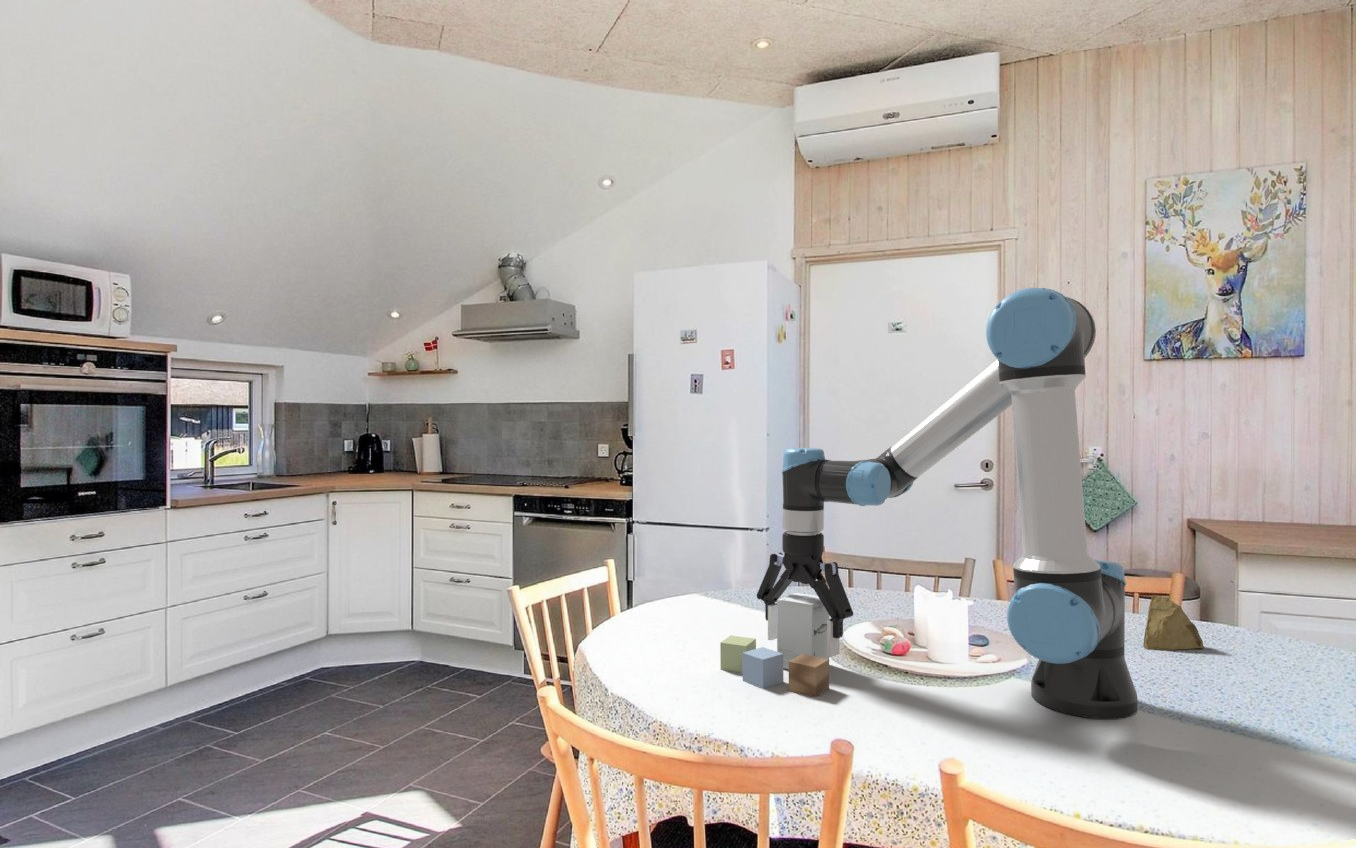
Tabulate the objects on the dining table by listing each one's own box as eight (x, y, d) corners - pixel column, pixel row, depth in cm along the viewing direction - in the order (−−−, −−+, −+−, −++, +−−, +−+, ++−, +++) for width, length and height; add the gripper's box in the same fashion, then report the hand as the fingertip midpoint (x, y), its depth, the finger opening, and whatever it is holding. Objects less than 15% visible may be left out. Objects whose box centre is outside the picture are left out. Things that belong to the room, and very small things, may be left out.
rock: (1206, 632, 154) (1149, 618, 160) (1211, 604, 149) (1151, 591, 155) (1199, 675, 148) (1139, 659, 154) (1203, 648, 143) (1142, 632, 149)
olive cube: (756, 665, 143) (755, 638, 143) (746, 673, 138) (745, 646, 138) (731, 662, 145) (730, 635, 145) (720, 669, 140) (720, 642, 140)
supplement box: (812, 675, 137) (812, 604, 137) (775, 667, 141) (775, 599, 141) (830, 664, 143) (830, 596, 142) (795, 657, 147) (795, 591, 147)
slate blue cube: (783, 682, 134) (783, 653, 134) (762, 689, 131) (762, 659, 130) (763, 675, 138) (762, 647, 137) (742, 681, 134) (742, 652, 134)
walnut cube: (829, 688, 130) (829, 659, 130) (815, 697, 126) (815, 667, 126) (802, 682, 133) (802, 654, 133) (788, 691, 129) (788, 661, 129)
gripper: (873, 537, 135) (872, 658, 136) (764, 522, 153) (763, 628, 154) (848, 542, 130) (848, 667, 130) (738, 526, 148) (738, 636, 148)
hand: (802, 646), depth 142 cm, fingers open, 13 cm apart
